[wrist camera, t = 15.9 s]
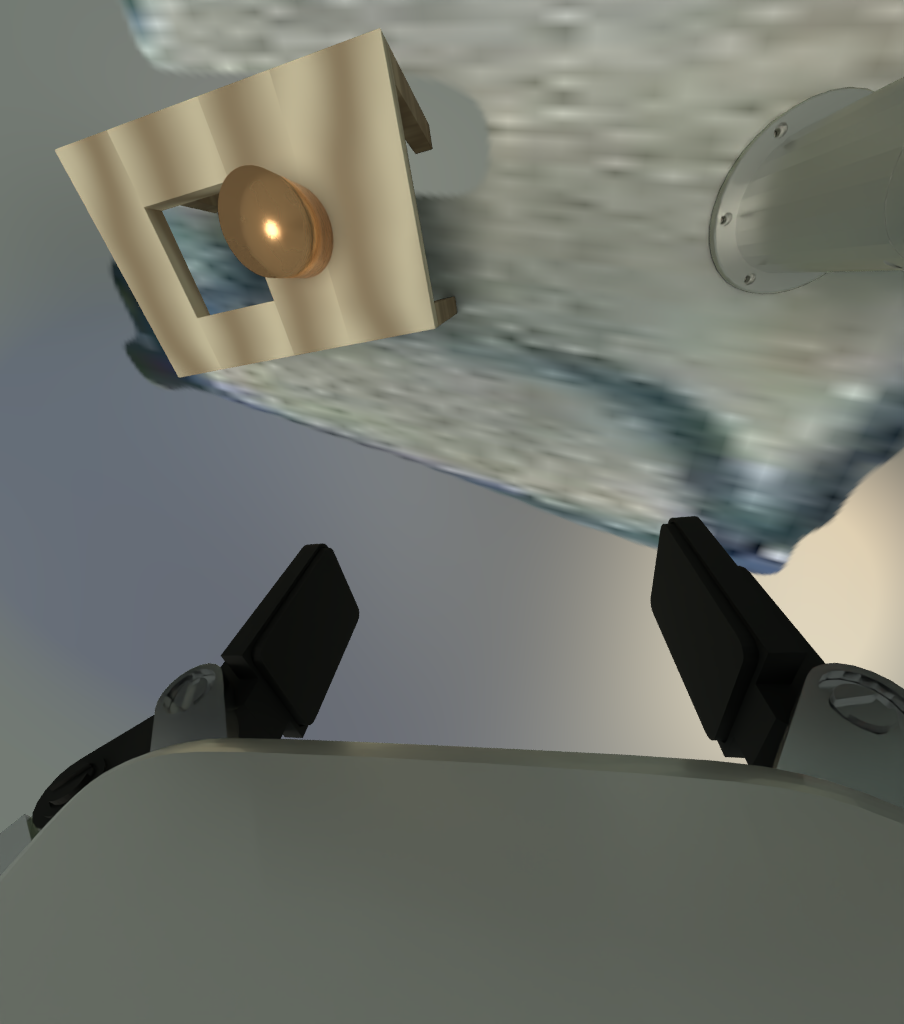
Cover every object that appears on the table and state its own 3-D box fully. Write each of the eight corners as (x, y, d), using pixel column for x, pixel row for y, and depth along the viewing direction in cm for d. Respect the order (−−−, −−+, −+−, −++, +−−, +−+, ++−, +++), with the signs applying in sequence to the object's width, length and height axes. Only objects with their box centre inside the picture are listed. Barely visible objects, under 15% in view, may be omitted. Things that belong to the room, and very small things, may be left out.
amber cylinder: (368, 201, 30) (282, 152, 19) (385, 272, 33) (318, 268, 21) (314, 216, 31) (200, 178, 20) (334, 283, 34) (244, 286, 22)
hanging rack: (428, 124, 30) (380, 28, 19) (457, 313, 37) (435, 328, 26) (206, 193, 35) (54, 149, 23) (270, 349, 42) (178, 377, 30)
